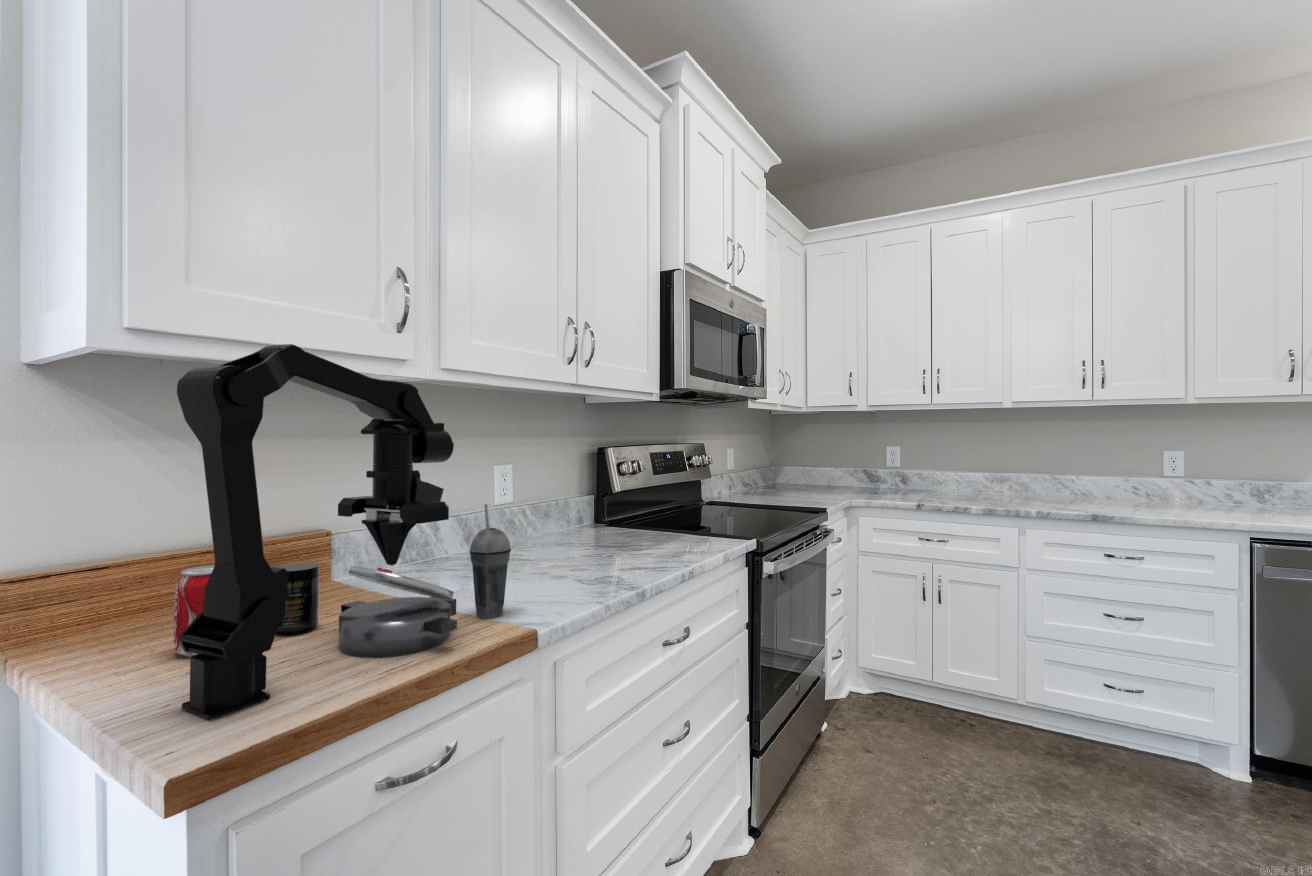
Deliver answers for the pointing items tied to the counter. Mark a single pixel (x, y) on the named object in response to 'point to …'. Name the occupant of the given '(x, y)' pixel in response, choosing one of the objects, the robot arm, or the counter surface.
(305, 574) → the supplement container
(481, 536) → the beverage cup
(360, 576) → the pressure cooker lid
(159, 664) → the counter surface
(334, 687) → the counter surface
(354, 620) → the pressure cooker pot
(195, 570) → the soda can
